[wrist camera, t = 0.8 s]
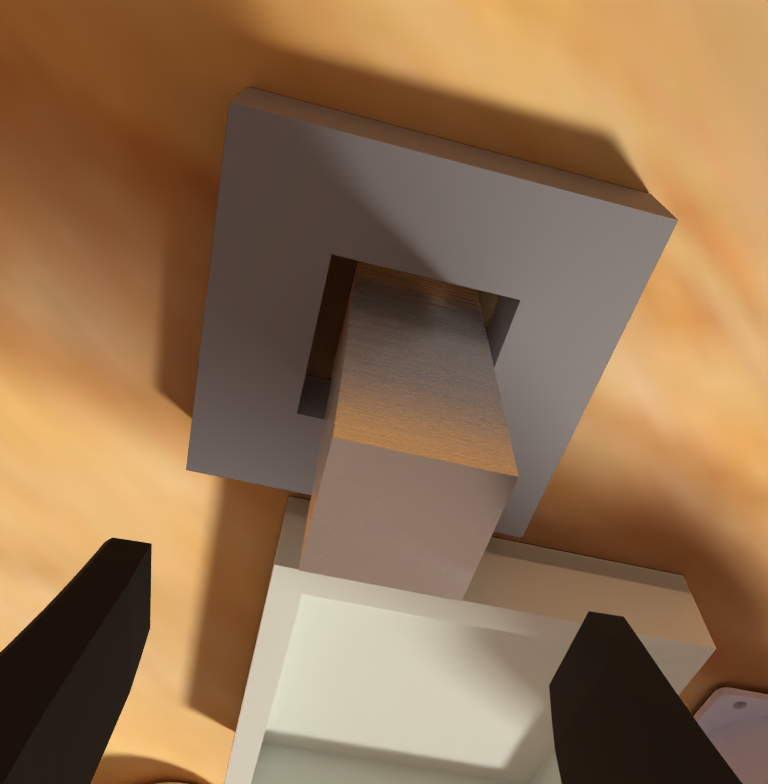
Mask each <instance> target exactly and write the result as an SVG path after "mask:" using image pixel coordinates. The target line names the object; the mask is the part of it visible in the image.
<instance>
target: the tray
mask: <svg viewBox="0 0 768 784" xmlns="http://www.w3.org/2000/svg"><path fill="white" fill-rule="evenodd" d="M309 506H310V500H306V499H301V498H296V497H291V496H289V498H288V502H287V507H286V511H285V515H284V520H283V524H282V529H281V533H280V537H279V542H278V546H277V551H276V555H275V559H274V564H273V568H272V572H271V577H270V581H269V586H268V590H267V594H266V599H265V603H264V608H263V612H262V616H261V621H260V625H259V630H258V634H257V638H256V643H255V647H254V652H253V656H252V660H251V665H250V669H249V673H248V678H247V682H246V687H245V691H244V695H243V700H242V704H241V709H240V713H239V717H238V722H237V726H236V731H235V735H234V740H233V744H232V749H231V753H230V758H229V763H228V767H227V772H226V777H225V781H224V784H562V783H561V778H560V773H559V768H558V763H557V758H556V753H555V746H554V737H553V727H552V717H551V704H550V691H549V684H550V683H551V681H552V679H553V677H554V675H555V673H556V671H557V669H558V668H559V666H560V664H561V662H562V660H563V658H564V656H565V655H566V653H567V651H568V649H569V647H570V645H571V643H572V642H573V640H574V638H575V636H576V634H577V632H578V630H579V628H580V627H581V625H582V623H583V621H584V619H585V617H586V615H587V614H588V612H589V611H591V612H597V613H604V614H610V615H617V616H623V617H624V618H625V619H626V620H627V622H628V623H629V625H630V626H631V628H632V629H633V630H634V632H635V633H636V635H637V636H638V638H639V639H640V641H641V642H642V643H643V645H644V646H645V648H646V649H647V651H648V652H649V654H650V655H651V657H652V658H653V660H654V661H655V662H656V664H657V665H658V667H659V668H660V670H661V671H662V673H663V674H664V676H665V677H666V679H667V680H668V681H669V683H670V684H671V686H672V687H673V689H674V690H675V692H676V693H677V694H678V696H679V695H680V694H681V692H682V691H683V690H684V689H685V687H686V686H687V685H688V684H689V682H690V681H691V680H692V679H693V677H694V676H695V675H696V674H697V672H698V671H699V670H700V669H701V667H702V666H703V665H704V664H705V662H706V661H707V660H708V659H709V657H710V656H711V655H712V654H713V652H714V651H715V650H716V647H715V645H714V642H713V640H712V638H711V636H710V634H709V631H708V629H707V627H706V625H705V623H704V620H703V618H702V616H701V614H700V612H699V609H698V607H697V605H696V603H695V601H694V598H693V596H692V594H691V592H690V590H689V587H688V585H687V583H686V581H685V579H684V576H683V575H678V574H673V573H668V572H663V571H658V570H653V569H648V568H643V567H638V566H633V565H628V564H623V563H618V562H613V561H608V560H603V559H598V558H593V557H588V556H583V555H578V554H573V553H569V552H564V551H559V550H554V549H549V548H544V547H539V546H534V545H529V544H524V543H519V542H514V541H509V540H504V539H499V538H494V537H491V538H490V540H489V543H488V545H487V547H486V549H485V551H484V554H483V556H482V558H481V560H480V562H479V564H478V567H477V569H476V571H475V573H474V575H473V577H472V580H471V582H470V584H469V586H468V588H467V591H466V593H465V595H464V597H463V599H462V601H457V600H452V599H447V598H441V597H436V596H431V595H425V594H420V593H415V592H410V591H404V590H399V589H394V588H389V587H383V586H378V585H373V584H367V583H362V582H357V581H352V580H346V579H341V578H336V577H330V576H325V575H320V574H315V573H309V572H304V571H299V565H300V559H301V553H302V547H303V541H304V535H305V529H306V524H307V518H308V512H309Z"/></svg>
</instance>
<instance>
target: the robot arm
mask: <svg viewBox="0 0 768 784" xmlns="http://www.w3.org/2000/svg"><path fill="white" fill-rule="evenodd" d="M150 599H151V544H150V543H144V542H137V541H131V540H124V539H118V538H111V539H109V540H107V541H106V542H105V543H104V544H103V545H102V546H101V547H100V548H99V550H98V551H97V552H96V553H95V554H94V555H93V557H92V558H91V559H90V560H89V561H88V562H87V563H86V565H85V566H84V567H83V568H82V569H81V570H80V571H79V572H78V574H77V575H76V576H75V577H74V578H73V579H72V580H71V581H70V582H69V583H68V584H67V586H66V587H65V588H64V589H63V590H62V591H61V592H60V593H59V594H58V595H57V596H56V597H55V598H54V599H53V600H52V601H51V602H50V603H49V605H48V606H47V607H46V608H45V609H44V610H43V611H42V612H41V613H40V614H39V615H38V616H37V617H36V618H35V619H34V620H33V621H32V622H31V623H30V624H29V625H28V626H27V627H26V628H25V629H24V630H23V631H22V632H21V633H20V634H19V635H18V636H17V637H16V638H15V639H14V640H13V641H12V642H11V643H10V644H9V645H8V646H7V647H6V648H4V649H3V650H2V651H1V652H0V784H90V783H91V781H92V778H93V776H94V774H95V771H96V769H97V767H98V765H99V762H100V760H101V758H102V755H103V753H104V751H105V749H106V746H107V744H108V742H109V739H110V737H111V735H112V732H113V730H114V728H115V725H116V723H117V721H118V718H119V716H120V714H121V711H122V709H123V707H124V704H125V702H126V700H127V697H128V695H129V693H130V690H131V687H132V684H133V681H134V677H135V674H136V671H137V668H138V665H139V662H140V659H141V655H142V652H143V649H144V646H145V642H146V639H147V636H148V633H149V629H150ZM549 691H550V704H551V717H552V727H553V737H554V746H555V753H556V758H557V763H558V768H559V773H560V778H561V783H562V784H768V694H763V693H758V692H752V691H747V690H741V689H736V688H731V687H724V688H720V689H717V690H716V691H715V692H713V694H712V695H711V696H710V697H709V698H708V700H707V701H706V702H705V703H704V704H703V705H702V707H701V708H700V709H699V710H698V711H697V713H696V714H695V715H694V716H692V714H691V713H690V712H689V710H688V709H687V707H686V706H685V704H684V703H683V702H682V700H681V699H680V697H679V696H678V694H677V693H676V692H675V690H674V689H673V687H672V686H671V684H670V683H669V681H668V680H667V679H666V677H665V676H664V674H663V673H662V671H661V670H660V668H659V667H658V665H657V664H656V662H655V661H654V660H653V658H652V657H651V655H650V654H649V652H648V651H647V649H646V648H645V646H644V645H643V643H642V642H641V641H640V639H639V638H638V636H637V635H636V633H635V632H634V630H633V629H632V628H631V626H630V625H629V623H628V622H627V620H626V619H625V618H624V617H623V616H617V615H610V614H604V613H597V612H591V611H589V612H588V614H587V615H586V617H585V619H584V621H583V623H582V625H581V627H580V628H579V630H578V632H577V634H576V636H575V638H574V640H573V642H572V643H571V645H570V647H569V649H568V651H567V653H566V655H565V656H564V658H563V660H562V662H561V664H560V666H559V668H558V669H557V671H556V673H555V675H554V677H553V679H552V681H551V683H550V684H549Z"/></svg>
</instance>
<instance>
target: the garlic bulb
mask: <svg viewBox="0 0 768 784" xmlns="http://www.w3.org/2000/svg"><path fill="white" fill-rule="evenodd" d="M156 784H187V783H177V782H166V783H156Z"/></svg>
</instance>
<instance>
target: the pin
mask: <svg viewBox="0 0 768 784" xmlns="http://www.w3.org/2000/svg"><path fill="white" fill-rule="evenodd" d="M518 477H519V476H518V472H517V467H516V463H515V458H514V454H513V450H512V445H511V441H510V436H509V432H508V427H507V423H506V418H505V414H504V409H503V405H502V401H501V396H500V392H499V387H498V383H497V378H496V374H495V369H494V365H493V360H492V356H491V352H490V347H489V343H488V338H487V334H486V329H485V325H484V320H483V316H482V311H481V307H480V303H479V298H478V294H477V289H473V288H469V287H464V286H460V285H456V284H452V283H448V282H444V281H440V280H436V279H432V278H427V277H423V276H419V275H415V274H411V273H407V272H403V271H399V270H394V269H390V268H386V267H382V266H378V265H374V264H370V263H366V262H362V261H358V263H357V268H356V272H355V276H354V280H353V284H352V288H351V292H350V297H349V301H348V305H347V309H346V313H345V317H344V322H343V326H342V330H341V334H340V338H339V342H338V346H337V351H336V355H335V359H334V365H333V370H332V376H331V382H330V388H329V394H328V400H327V406H326V412H325V418H324V423H323V429H322V435H321V441H320V447H319V453H318V459H317V465H316V471H315V476H314V482H313V488H312V494H311V500H310V506H309V512H308V518H307V524H306V529H305V535H304V541H303V547H302V553H301V559H300V565H299V571H304V572H309V573H315V574H320V575H325V576H330V577H336V578H341V579H346V580H352V581H357V582H362V583H367V584H373V585H378V586H383V587H389V588H394V589H399V590H404V591H410V592H415V593H420V594H425V595H431V596H436V597H441V598H447V599H452V600H457V601H462V599H463V597H464V595H465V593H466V591H467V588H468V586H469V584H470V582H471V580H472V577H473V575H474V573H475V571H476V569H477V567H478V564H479V562H480V560H481V558H482V556H483V554H484V551H485V549H486V547H487V545H488V543H489V540H490V538H491V536H492V534H493V532H494V530H495V527H496V525H497V523H498V521H499V519H500V516H501V514H502V512H503V510H504V508H505V506H506V503H507V501H508V499H509V497H510V495H511V492H512V490H513V488H514V486H515V484H516V482H517V479H518Z"/></svg>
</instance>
